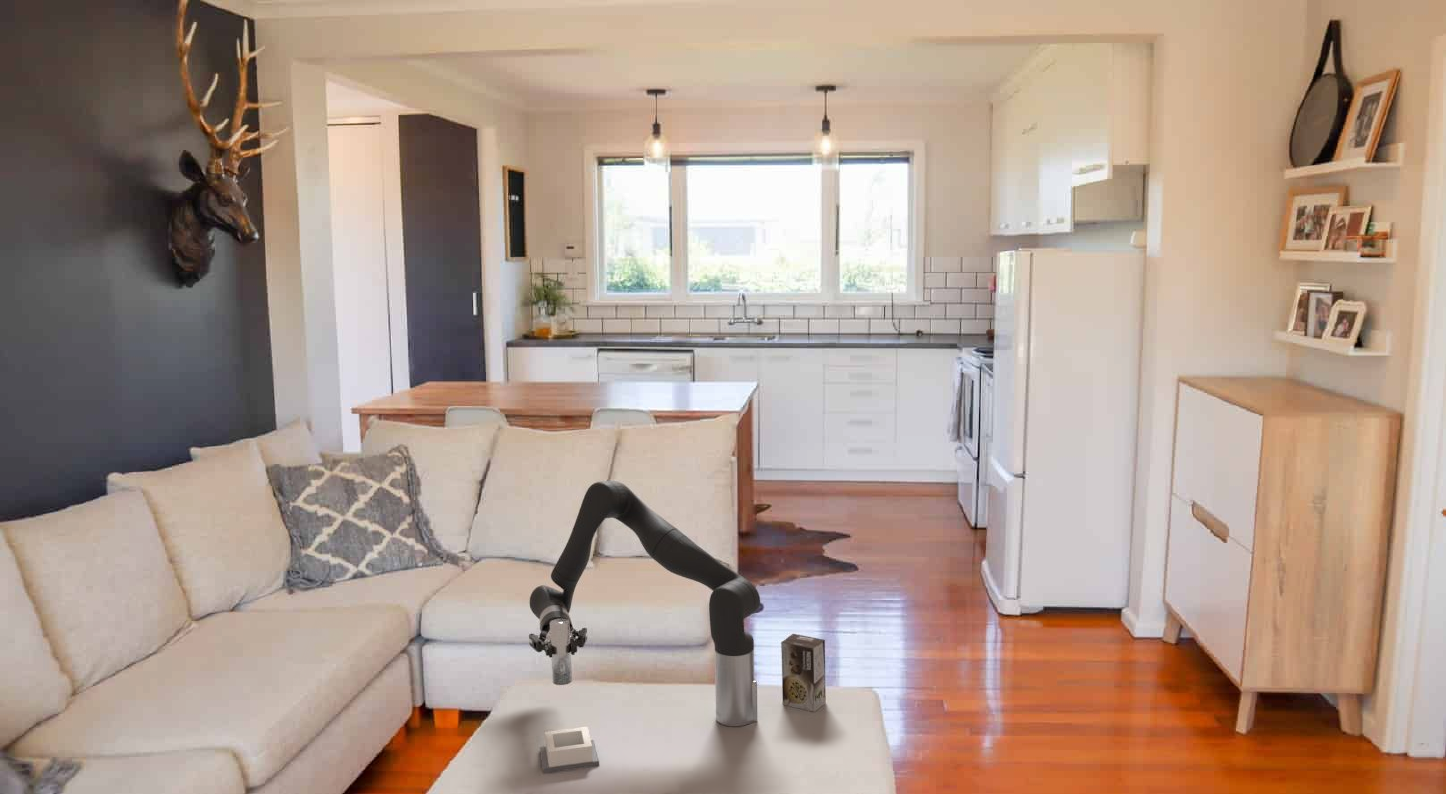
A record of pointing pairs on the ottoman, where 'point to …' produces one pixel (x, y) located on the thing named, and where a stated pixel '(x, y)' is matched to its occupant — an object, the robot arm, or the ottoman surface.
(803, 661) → the cookie box
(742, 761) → the ottoman surface
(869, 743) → the ottoman surface
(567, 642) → the silver metal cylinder
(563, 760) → the dock
